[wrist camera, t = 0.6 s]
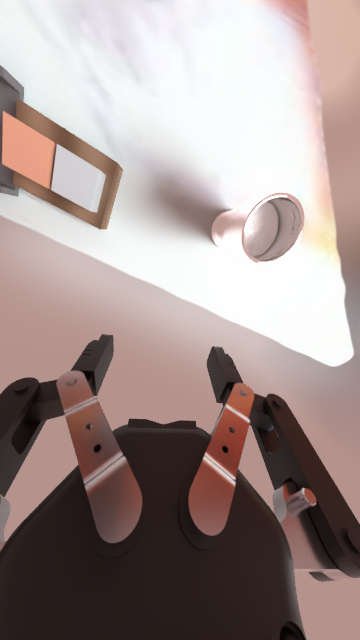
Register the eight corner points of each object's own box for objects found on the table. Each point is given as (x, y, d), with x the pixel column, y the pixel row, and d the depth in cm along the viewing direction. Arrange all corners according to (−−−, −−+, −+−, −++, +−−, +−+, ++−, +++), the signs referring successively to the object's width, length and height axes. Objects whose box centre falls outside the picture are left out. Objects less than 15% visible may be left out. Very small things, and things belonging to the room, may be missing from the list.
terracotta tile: (64, 150, 22) (52, 141, 19) (58, 191, 24) (47, 188, 22) (20, 123, 20) (2, 110, 18) (18, 170, 22) (2, 163, 20)
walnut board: (122, 169, 25) (117, 163, 23) (106, 229, 29) (100, 229, 26) (34, 113, 22) (16, 98, 19) (29, 188, 26) (13, 184, 23)
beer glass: (207, 251, 32) (235, 267, 19) (209, 208, 28) (245, 191, 15) (243, 249, 32) (295, 264, 19) (248, 206, 29) (317, 188, 16)
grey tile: (106, 175, 23) (99, 169, 21) (97, 212, 25) (90, 211, 23) (68, 152, 22) (56, 143, 20) (61, 193, 24) (51, 190, 22)
